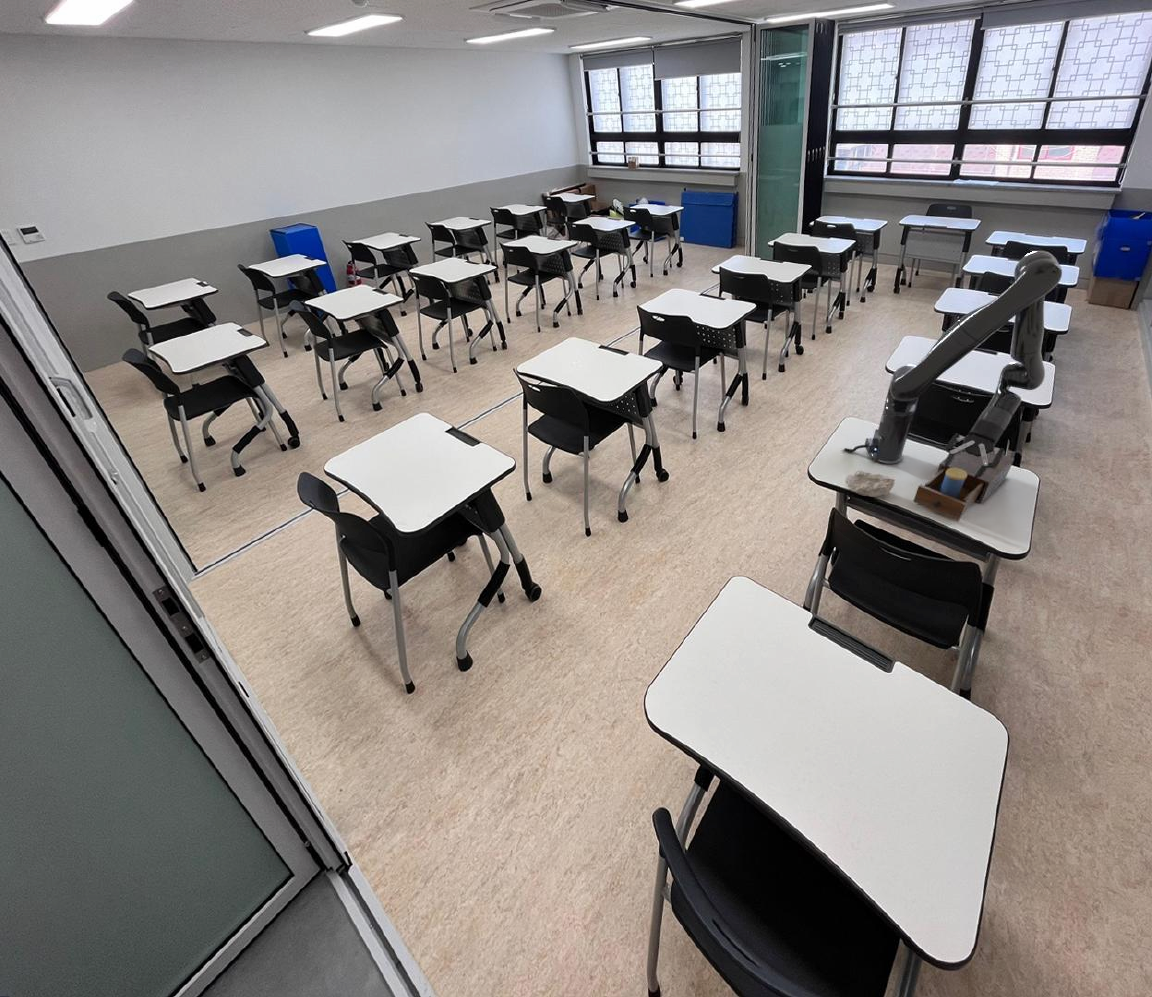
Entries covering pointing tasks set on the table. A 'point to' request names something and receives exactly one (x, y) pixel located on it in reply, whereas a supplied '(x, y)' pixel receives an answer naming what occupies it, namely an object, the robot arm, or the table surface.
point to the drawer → (945, 503)
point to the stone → (869, 484)
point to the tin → (953, 482)
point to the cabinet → (972, 466)
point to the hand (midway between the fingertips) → (961, 471)
